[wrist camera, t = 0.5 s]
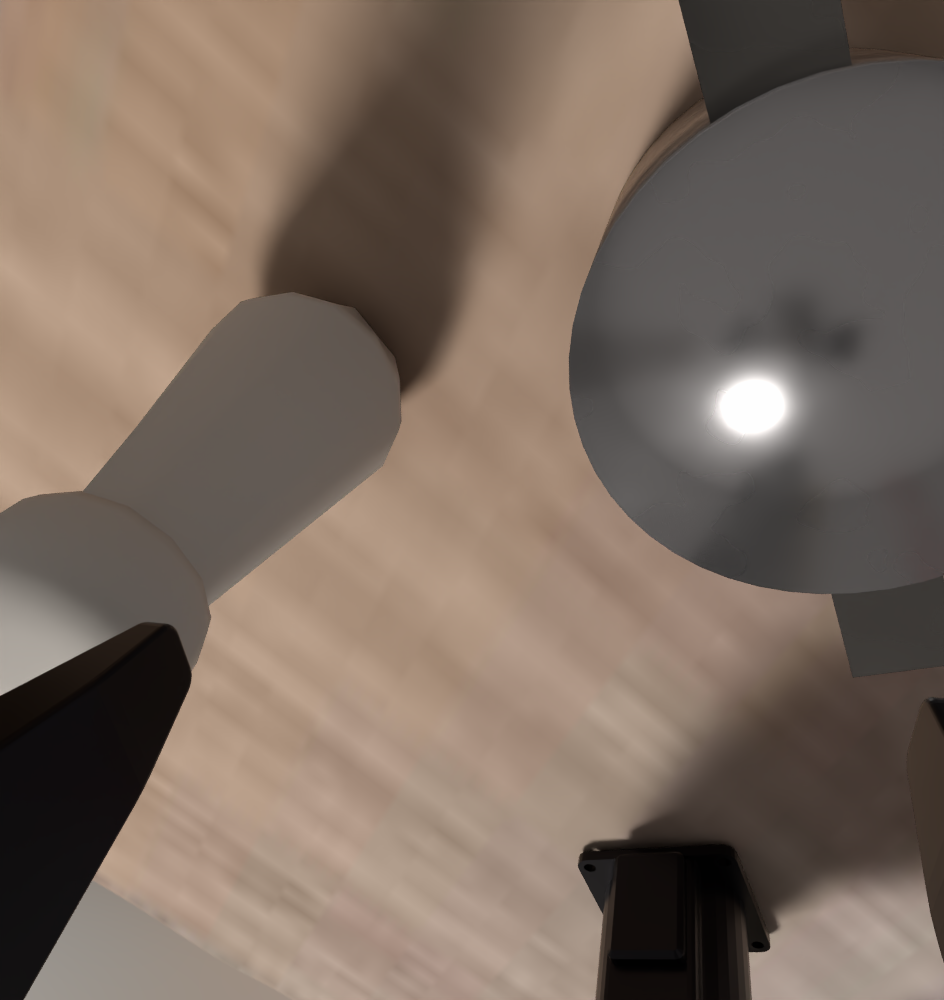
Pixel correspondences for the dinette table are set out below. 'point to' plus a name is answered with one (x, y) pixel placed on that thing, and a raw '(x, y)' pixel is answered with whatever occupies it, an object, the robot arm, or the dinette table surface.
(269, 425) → the salt shaker
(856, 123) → the cooker pot
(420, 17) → the dinette table surface
